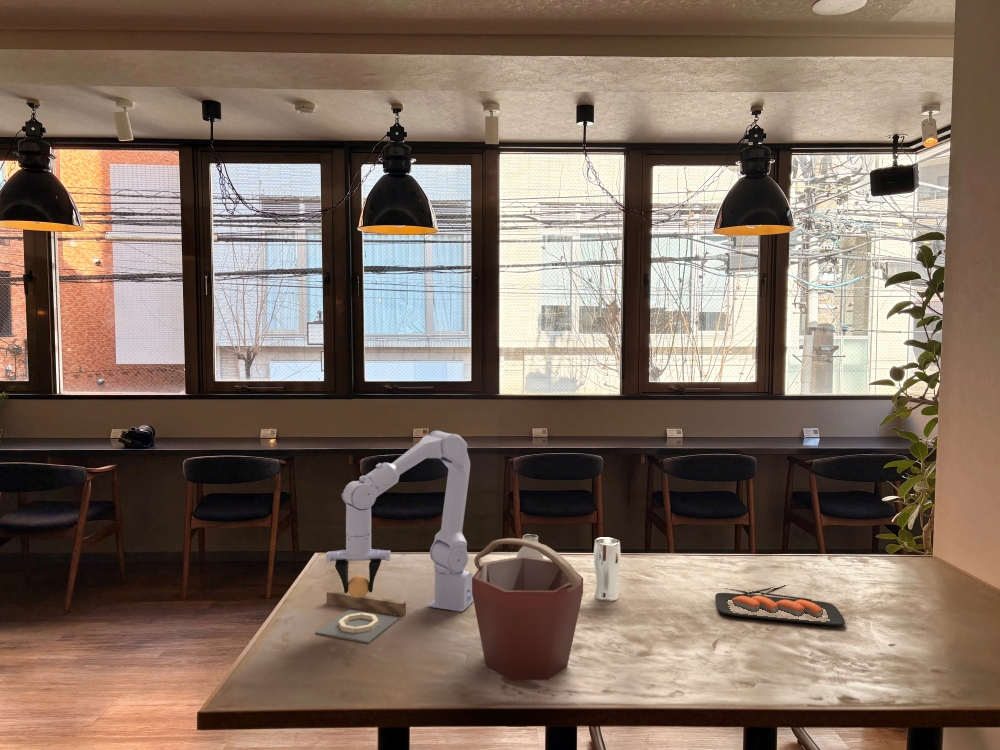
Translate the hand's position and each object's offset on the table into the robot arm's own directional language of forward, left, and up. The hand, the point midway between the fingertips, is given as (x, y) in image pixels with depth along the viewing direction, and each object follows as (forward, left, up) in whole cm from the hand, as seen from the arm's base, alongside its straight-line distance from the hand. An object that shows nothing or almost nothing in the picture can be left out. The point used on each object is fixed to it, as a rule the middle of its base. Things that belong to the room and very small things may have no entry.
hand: (358, 591), depth 153 cm
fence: (+4, -10, -8) cm, 13 cm away
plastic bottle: (-36, -19, -9) cm, 42 cm away
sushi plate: (-92, -52, -9) cm, 106 cm away
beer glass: (-51, -39, -9) cm, 65 cm away
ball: (0, 0, +1) cm, 1 cm away
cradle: (0, 0, -8) cm, 8 cm away
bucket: (-42, +2, -9) cm, 43 cm away
